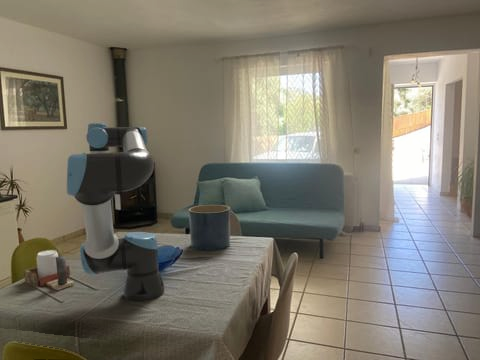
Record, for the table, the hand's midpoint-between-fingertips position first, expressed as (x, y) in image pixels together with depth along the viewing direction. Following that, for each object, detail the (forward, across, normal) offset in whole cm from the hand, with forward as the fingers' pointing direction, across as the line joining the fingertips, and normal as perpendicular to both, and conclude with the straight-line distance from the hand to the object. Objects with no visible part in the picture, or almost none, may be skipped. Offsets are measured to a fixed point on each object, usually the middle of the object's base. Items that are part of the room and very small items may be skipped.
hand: (103, 212), depth 153 cm
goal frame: (+29, +16, -21) cm, 39 cm away
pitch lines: (+29, +16, -4) cm, 33 cm away
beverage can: (+29, +16, -19) cm, 38 cm away
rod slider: (+28, +16, -10) cm, 34 cm away
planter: (+29, -60, +3) cm, 67 cm away
